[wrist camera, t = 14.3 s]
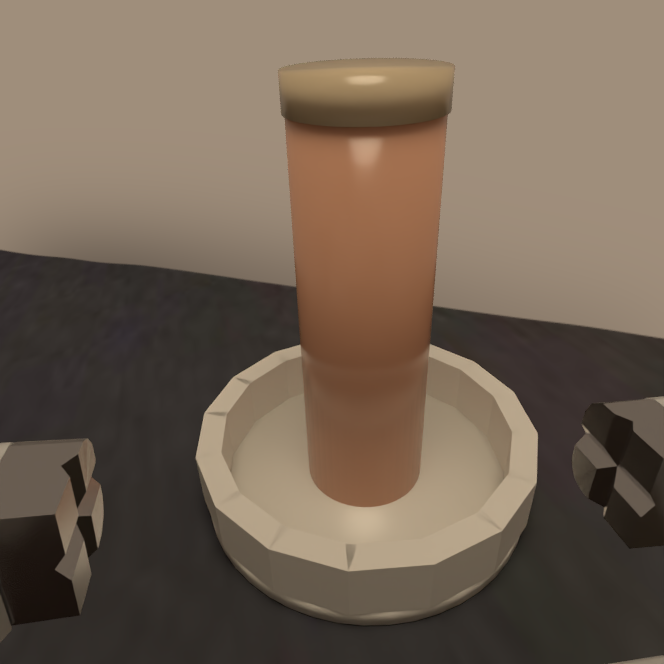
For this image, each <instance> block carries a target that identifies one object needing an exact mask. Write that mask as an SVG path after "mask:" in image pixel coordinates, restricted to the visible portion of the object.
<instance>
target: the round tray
mask: <svg viewBox="0 0 664 664" xmlns="http://www.w3.org/2000/svg"><path fill="white" fill-rule="evenodd" d="M537 442H538V433H537V432H536V430H535V428H534V426H533V425H532V423H531V421H530V420H529V418H528V416H527V414H526V413H525V411H524V409H523V407H522V406H521V404H520V402H519V400H518V399H517V397H516V395H515V393H514V392H513V391H512V390H510V389H509V388H508V387H506V386H505V385H504V384H502V383H501V382H500V381H499V380H497V379H496V378H495V377H493V376H492V375H491V374H490V373H488V372H487V371H486V370H484V369H483V368H482V367H481V366H479V365H478V364H477V363H475V362H474V361H471V360H469V359H466V358H464V357H461V356H459V355H456V354H453V353H451V352H448V351H446V350H443V349H441V348H438V347H436V346H433V345H431V344H430V349H429V362H428V375H427V388H426V401H425V414H424V427H423V440H422V453H421V466H420V474H419V477H418V480H417V482H416V484H415V485H414V487H413V488H412V489H411V490H410V491H409V492H408V493H407V494H406V495H404V496H403V497H401V498H400V499H398V500H396V501H394V502H391V503H389V504H385V505H381V506H375V507H356V506H350V505H346V504H343V503H340V502H338V501H335V500H333V499H331V498H330V497H328V496H327V495H325V494H324V493H323V492H322V491H321V490H320V489H319V488H318V487H317V486H316V485H315V483H314V482H313V480H312V478H311V475H310V470H309V459H308V445H307V431H306V416H305V402H304V388H303V373H302V359H301V345H298V346H294V347H291V348H288V349H284V350H281V351H277V352H274V353H273V354H271V355H269V356H268V357H266V358H264V359H263V360H261V361H259V362H258V363H256V364H254V365H253V366H251V367H249V368H248V369H246V370H244V371H243V372H241V373H239V374H238V375H236V376H234V377H233V378H232V379H231V381H230V382H229V383H228V384H227V386H226V387H225V388H224V389H223V391H222V392H221V393H220V394H219V396H218V397H217V398H216V399H215V401H214V402H213V403H212V404H211V405H210V407H209V408H208V409H207V410H206V412H205V413H204V418H203V423H202V428H201V433H200V438H199V443H198V449H197V454H196V462H197V467H198V471H199V476H200V480H201V485H202V490H203V494H204V499H205V502H206V504H207V507H208V509H209V512H210V514H211V518H212V522H213V525H214V529H215V532H216V536H217V538H218V540H219V542H220V544H221V546H222V548H223V550H224V552H225V554H226V555H227V557H228V558H229V559H230V561H231V562H232V564H233V565H234V566H235V568H236V569H237V570H238V571H239V572H240V573H241V574H242V575H243V576H244V577H245V578H246V579H247V580H248V581H249V582H250V583H251V584H252V585H253V586H255V587H256V588H257V589H259V590H260V591H261V592H263V593H264V594H265V595H267V596H268V597H270V598H272V599H273V600H275V601H277V602H279V603H281V604H283V605H284V606H286V607H288V608H290V609H293V610H295V611H298V612H301V613H303V614H306V615H309V616H311V617H315V618H319V619H323V620H327V621H331V622H336V623H343V624H353V625H362V626H368V625H393V624H399V623H406V622H412V621H417V620H420V619H424V618H427V617H431V616H434V615H437V614H440V613H442V612H444V611H447V610H449V609H451V608H453V607H455V606H458V605H460V604H462V603H463V602H465V601H466V600H468V599H469V598H471V597H472V596H474V595H476V594H477V593H479V592H480V591H481V590H482V589H483V588H484V587H486V586H487V585H488V584H489V583H490V582H491V581H492V580H493V579H495V577H496V576H497V575H498V574H499V572H500V571H501V570H502V569H503V567H504V566H505V565H506V564H507V562H508V561H509V559H510V557H511V555H512V553H513V552H514V550H515V548H516V546H517V543H518V540H519V537H520V534H521V533H522V531H523V530H524V528H525V527H526V525H527V521H528V517H529V513H530V509H531V504H532V500H533V496H534V492H535V488H536V483H537Z"/></svg>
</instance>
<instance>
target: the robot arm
mask: <svg viewBox="0 0 664 664" xmlns="http://www.w3.org/2000/svg"><path fill="white" fill-rule="evenodd" d="M581 424H582V426H583V428H584V430H585V432H586V434H585V435H584V436H583V437H582V438H581V439H580V440H579V441H578V442H577V443H576V445H575V448H574V452H573V457H572V467H573V473H574V477H575V480H576V482H577V484H578V486H579V488H580V489H581V490H582V492H583V493H584V494H585V495H586V497H587V498H588V499H590V500H592V501H594V502H595V503H597V504H599V505H601V506H603V507H604V519H605V520H606V521H607V522H608V524H609V525H610V526H611V527H612V528H613V530H614V531H615V532H616V533H617V534H618V536H619V537H620V538H621V539H622V540H623V542H624V543H625V544H626V545H627V546H628V548H629V549H631V548H642V547H653V546H664V397H654V398H645V399H642V400H630V401H617V402H605V403H592V404H591V405H590V406H589V407H588V409H587V410H586V411H585V414H584V417H583V420H582V423H581ZM95 462H96V459H95V455H94V451H93V446H92V443H91V442H90V441H89V440H88V439H87V438H86V439H66V440H46V441H26V442H15V443H12V442H8V443H0V642H1V641H2V640H3V639H4V638H5V637H6V635H7V634H8V633H9V632H10V631H11V630H12V627H11V626H12V625H19V624H25V623H32V622H39V621H46V620H52V619H59V618H66V617H73V616H79V615H80V614H81V610H82V607H83V603H84V599H85V595H86V592H87V588H88V584H89V581H90V577H91V570H90V566H89V561H88V557H89V556H91V555H92V554H93V553H94V552H95V551H96V550H97V549H98V546H99V542H100V538H101V534H102V525H103V514H104V511H103V497H102V491H101V485H100V484H99V483H98V482H97V481H95V480H94V479H93V478H92V477H91V475H92V472H93V469H94V465H95ZM611 664H664V655H661V656H655V657H648V658H642V659H636V660H630V661H624V662H618V663H611Z"/></svg>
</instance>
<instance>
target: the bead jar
mask: <svg viewBox="0 0 664 664" xmlns="http://www.w3.org/2000/svg"><path fill="white" fill-rule="evenodd" d="M454 70H455V65H454V64H452V63H448V62H444V61H437V60H427V59H409V58H362V59H340V60H326V61H316V62H307V63H300V64H294V65H289V66H285V67H282V68H280V69H279V70H278V76H279V91H280V104H281V114H282V116H283V117H284V118H285V129H286V144H287V158H288V172H289V186H290V201H291V214H292V229H293V244H294V258H295V272H296V287H297V301H298V316H299V330H300V345H301V359H302V373H303V388H304V402H305V416H306V431H307V445H308V459H309V470H310V475H311V478H312V480H313V482H314V483H315V485H316V486H317V487H318V488H319V489H320V490H321V491H322V492H323V493H324V494H325V495H327V496H328V497H330V498H331V499H333V500H335V501H338V502H340V503H343V504H346V505H350V506H356V507H375V506H381V505H385V504H389V503H391V502H394V501H396V500H398V499H400V498H401V497H403V496H404V495H406V494H407V493H408V492H409V491H410V490H411V489H412V488H413V487H414V485H415V484H416V482H417V480H418V477H419V474H420V466H421V453H422V440H423V427H424V414H425V401H426V388H427V375H428V362H429V349H430V336H431V323H432V310H433V297H434V284H435V271H436V258H437V244H438V231H439V219H440V206H441V193H442V180H443V168H444V155H445V141H446V129H447V116H448V114H449V113H450V112H451V108H452V94H453V83H454Z"/></svg>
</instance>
